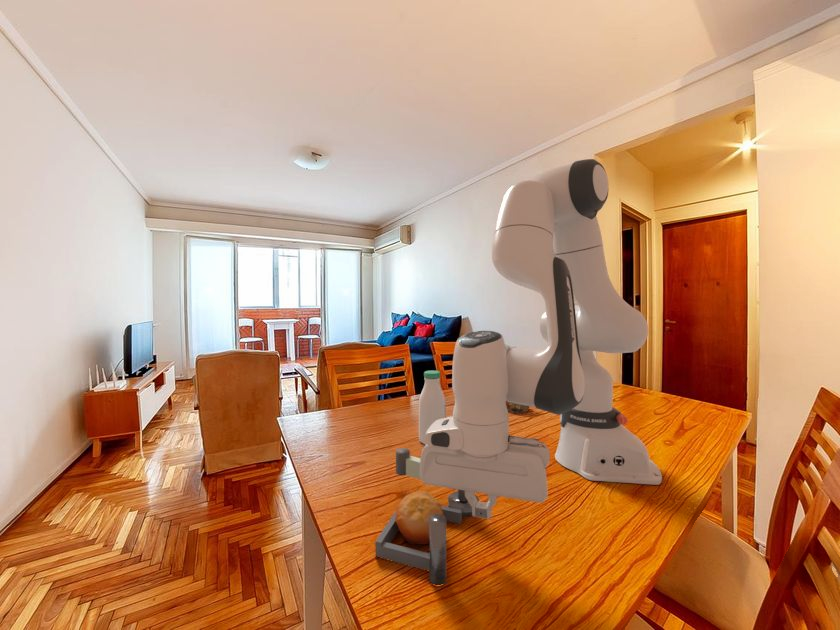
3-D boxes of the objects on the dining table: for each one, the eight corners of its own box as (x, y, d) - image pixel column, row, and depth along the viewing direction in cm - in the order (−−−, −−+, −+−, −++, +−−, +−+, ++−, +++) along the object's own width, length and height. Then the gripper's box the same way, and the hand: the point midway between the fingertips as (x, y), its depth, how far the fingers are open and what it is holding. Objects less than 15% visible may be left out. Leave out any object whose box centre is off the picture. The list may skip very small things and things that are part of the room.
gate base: (481, 501, 67) (481, 494, 67) (476, 520, 62) (476, 512, 62) (452, 495, 69) (452, 488, 69) (444, 513, 64) (444, 505, 63)
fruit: (439, 506, 63) (441, 483, 59) (443, 554, 57) (446, 532, 52) (396, 507, 63) (395, 484, 59) (395, 556, 56) (394, 533, 52)
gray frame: (461, 520, 61) (461, 507, 61) (443, 575, 49) (443, 558, 49) (405, 508, 65) (405, 495, 65) (375, 556, 53) (375, 541, 53)
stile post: (448, 575, 49) (448, 515, 49) (443, 588, 47) (443, 526, 46) (432, 571, 50) (432, 512, 50) (427, 584, 48) (427, 522, 47)
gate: (466, 504, 63) (466, 471, 63) (393, 480, 72) (392, 452, 71) (471, 495, 66) (471, 465, 66) (400, 474, 74) (400, 447, 74)
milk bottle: (443, 447, 92) (443, 375, 91) (416, 444, 94) (416, 374, 93) (447, 436, 100) (447, 369, 99) (421, 434, 101) (421, 368, 100)
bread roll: (530, 419, 125) (533, 397, 127) (524, 414, 116) (527, 391, 119) (504, 414, 130) (507, 393, 132) (496, 409, 122) (499, 387, 124)
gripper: (548, 431, 54) (548, 515, 55) (426, 420, 60) (428, 494, 61) (550, 449, 48) (551, 542, 49) (415, 433, 54) (417, 516, 55)
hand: (481, 515), depth 55 cm, fingers closed
